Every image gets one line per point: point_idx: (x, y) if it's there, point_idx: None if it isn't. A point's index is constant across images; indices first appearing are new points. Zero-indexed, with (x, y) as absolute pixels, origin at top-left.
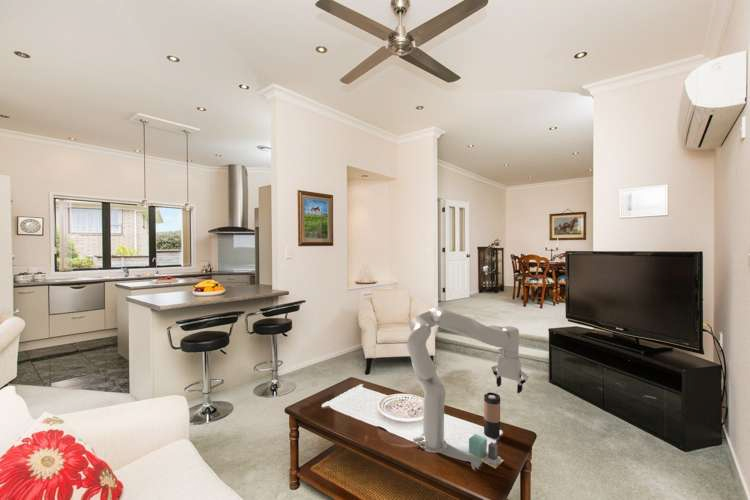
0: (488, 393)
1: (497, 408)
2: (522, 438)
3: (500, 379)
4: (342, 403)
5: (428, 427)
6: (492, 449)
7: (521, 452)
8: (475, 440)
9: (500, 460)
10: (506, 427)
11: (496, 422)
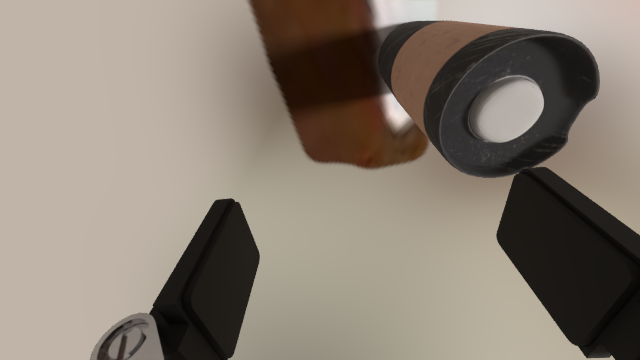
0: (556, 143)
1: (419, 76)
2: (318, 136)
3: (565, 297)
4: None
5: None
6: None
7: (271, 50)
8: None
9: None
10: (389, 154)
11: (398, 52)
